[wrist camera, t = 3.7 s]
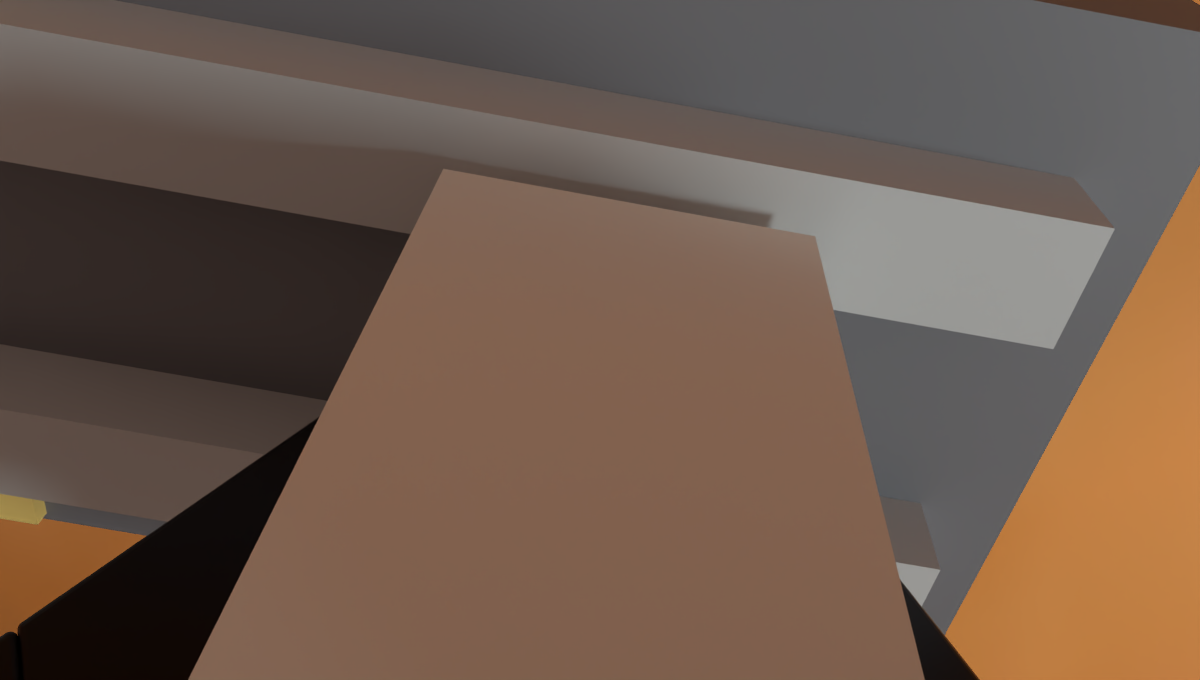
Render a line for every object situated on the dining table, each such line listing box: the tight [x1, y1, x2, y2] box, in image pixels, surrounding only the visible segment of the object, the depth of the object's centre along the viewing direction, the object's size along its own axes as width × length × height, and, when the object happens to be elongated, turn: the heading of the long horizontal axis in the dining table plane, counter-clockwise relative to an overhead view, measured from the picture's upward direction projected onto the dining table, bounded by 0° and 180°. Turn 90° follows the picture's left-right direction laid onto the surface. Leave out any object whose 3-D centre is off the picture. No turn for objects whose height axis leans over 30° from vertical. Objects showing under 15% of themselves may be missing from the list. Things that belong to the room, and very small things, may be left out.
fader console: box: [0, 0, 1200, 635], centre depth 11 cm, size 15×8×4 cm, turn 81°
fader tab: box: [188, 169, 925, 680], centre depth 7 cm, size 3×4×6 cm
